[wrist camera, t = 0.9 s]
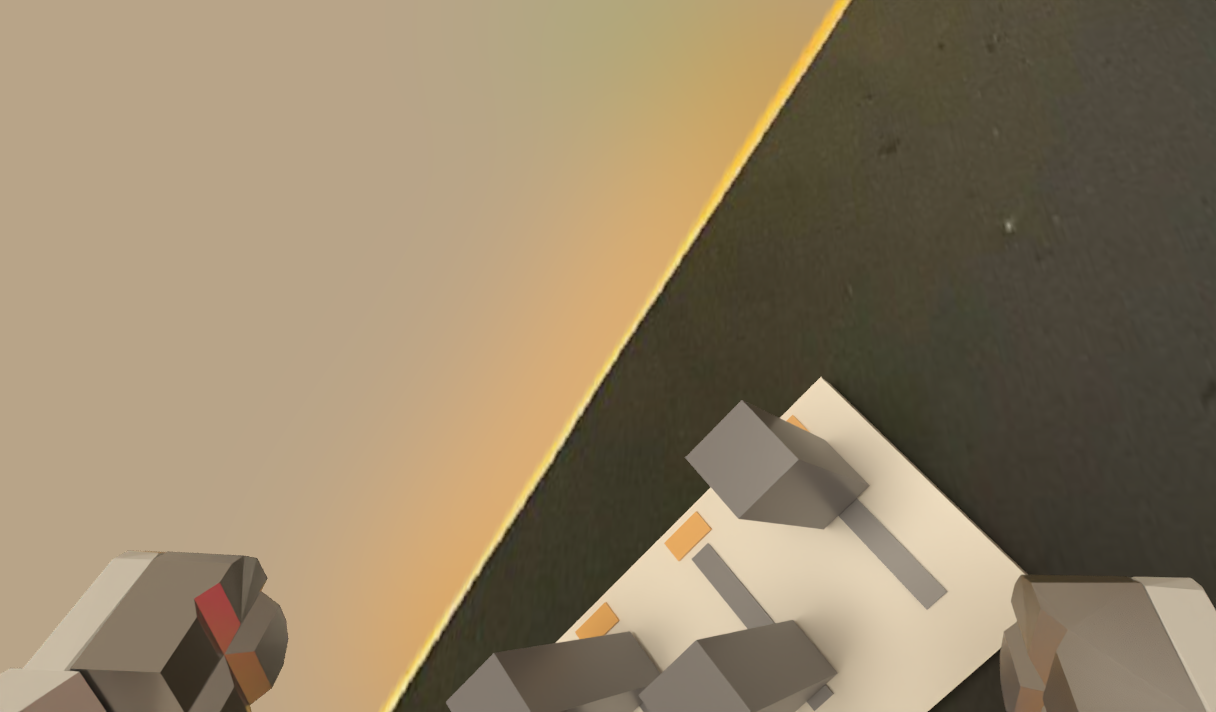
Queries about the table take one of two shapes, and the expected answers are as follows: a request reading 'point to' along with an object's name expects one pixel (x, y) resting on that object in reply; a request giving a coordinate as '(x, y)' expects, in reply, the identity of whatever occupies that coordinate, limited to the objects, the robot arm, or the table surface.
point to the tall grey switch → (775, 470)
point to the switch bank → (830, 579)
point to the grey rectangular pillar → (742, 673)
